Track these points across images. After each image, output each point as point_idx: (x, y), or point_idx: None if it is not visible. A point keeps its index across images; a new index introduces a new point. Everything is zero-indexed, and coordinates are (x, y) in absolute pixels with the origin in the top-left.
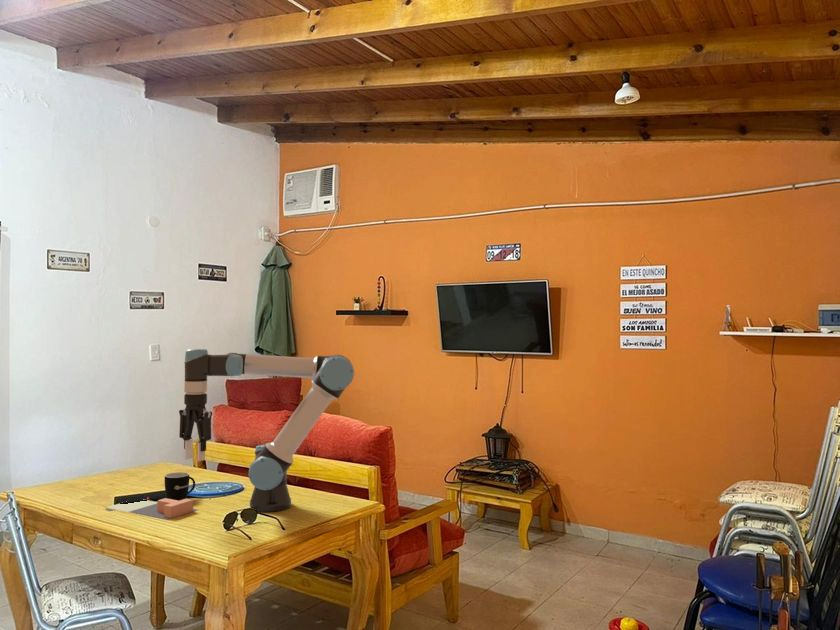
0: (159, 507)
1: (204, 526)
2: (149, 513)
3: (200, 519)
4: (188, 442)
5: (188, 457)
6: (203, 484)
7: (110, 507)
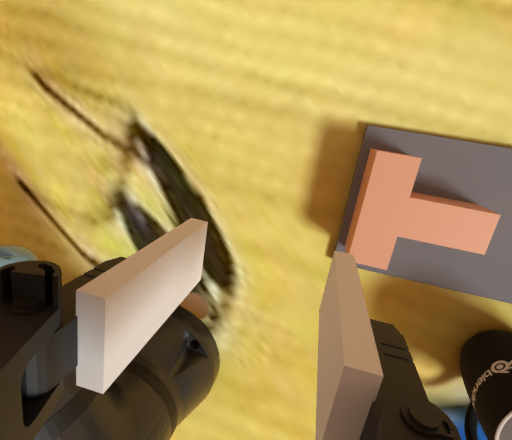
0: (472, 205)
1: (220, 130)
2: (496, 174)
3: (278, 191)
4: (333, 373)
5: (329, 277)
6: None
7: None
